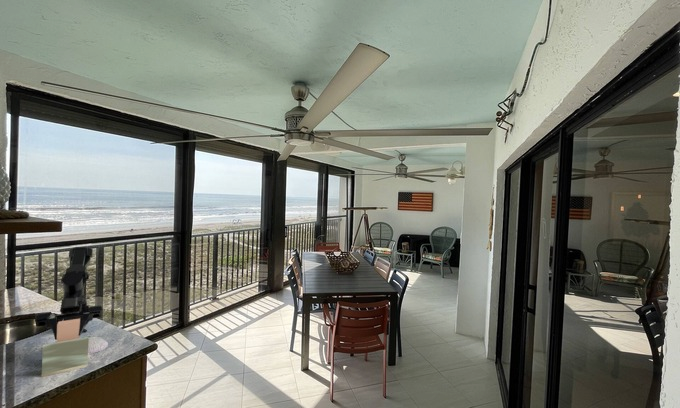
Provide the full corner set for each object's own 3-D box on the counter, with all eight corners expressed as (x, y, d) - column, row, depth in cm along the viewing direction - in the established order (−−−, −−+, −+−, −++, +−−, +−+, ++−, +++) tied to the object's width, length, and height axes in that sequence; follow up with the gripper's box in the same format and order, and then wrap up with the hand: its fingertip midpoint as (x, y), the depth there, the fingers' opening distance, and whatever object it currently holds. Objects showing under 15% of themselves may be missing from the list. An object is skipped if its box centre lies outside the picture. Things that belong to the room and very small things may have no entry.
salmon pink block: (56, 353, 108) (58, 321, 108) (78, 349, 112) (80, 318, 112) (55, 357, 106) (57, 324, 105) (77, 353, 109) (79, 321, 109)
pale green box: (46, 364, 109) (48, 334, 109) (88, 355, 116) (90, 327, 116) (41, 377, 101) (43, 345, 101) (87, 366, 108) (88, 337, 108)
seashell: (109, 333, 129) (108, 337, 121) (108, 346, 128) (107, 351, 120) (79, 337, 123) (75, 342, 115) (77, 351, 122) (73, 357, 114)
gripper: (37, 291, 106) (28, 334, 97) (103, 285, 117) (100, 322, 109) (40, 306, 112) (32, 347, 103) (102, 298, 124) (100, 334, 115)
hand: (67, 337), depth 107 cm, fingers closed on salmon pink block, 6 cm apart
